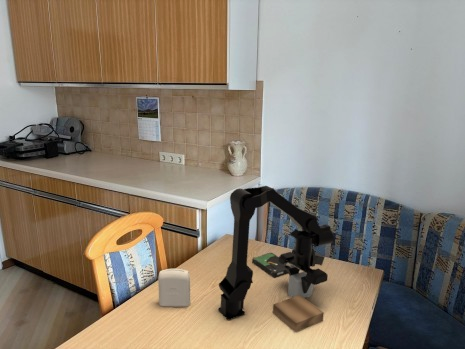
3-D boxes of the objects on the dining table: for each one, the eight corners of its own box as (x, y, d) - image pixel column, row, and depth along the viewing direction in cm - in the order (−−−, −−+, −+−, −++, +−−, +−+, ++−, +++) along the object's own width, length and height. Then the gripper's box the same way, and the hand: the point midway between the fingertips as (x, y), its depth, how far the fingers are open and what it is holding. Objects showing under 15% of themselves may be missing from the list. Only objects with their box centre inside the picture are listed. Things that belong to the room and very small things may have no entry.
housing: (296, 300, 120) (297, 282, 118) (287, 294, 124) (289, 276, 122) (311, 295, 124) (313, 277, 122) (303, 289, 127) (304, 271, 126)
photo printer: (157, 307, 115) (156, 272, 112) (160, 299, 119) (159, 265, 116) (189, 308, 115) (189, 273, 112) (191, 300, 119) (191, 266, 116)
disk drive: (294, 272, 140) (270, 257, 152) (295, 266, 139) (271, 251, 151) (274, 279, 134) (251, 263, 146) (274, 273, 134) (251, 257, 146)
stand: (295, 332, 104) (296, 323, 104) (272, 312, 113) (273, 304, 113) (322, 320, 110) (323, 312, 109) (299, 302, 119) (299, 294, 118)
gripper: (341, 253, 116) (337, 296, 119) (302, 234, 131) (299, 272, 135) (316, 261, 110) (312, 306, 114) (278, 239, 126) (276, 279, 129)
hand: (300, 289), depth 123 cm, fingers closed on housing, 4 cm apart
